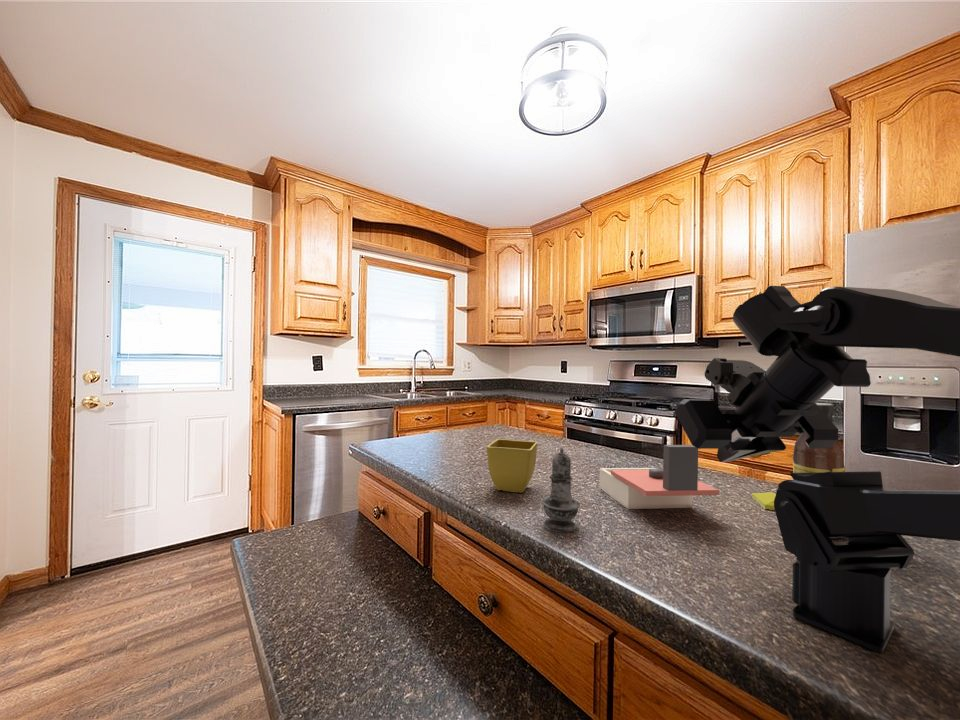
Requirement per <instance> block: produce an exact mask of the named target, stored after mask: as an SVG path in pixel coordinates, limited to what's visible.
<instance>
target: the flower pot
mask: <svg viewBox="0 0 960 720" xmlns="http://www.w3.org/2000/svg"><path fill="white" fill-rule="evenodd" d="M537 451H538V441H533V440H532V441H529V440H515V439H513V440H512V439H503V438H502V439H501V438H497V439H494V441H492V442H491V443H490V444H488V445H486V455H487V456H486V457H487V465H488V472H489V475H490V479H491V481H492V483H493V485H494V486H495V488H496V490H497V491H499V490H503V491H502V492H510V493H512V492H513V493H518V492H519V493H520V494H521V493H524V492H525V490H526V489H527V487H528V485H529V483H530V481H531V479H532V477H533V476H534V475H533V474H534V472H535V467H536V461H537V453H538V452H537Z"/></svg>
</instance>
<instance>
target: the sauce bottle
mask: <svg viewBox="0 0 960 720" xmlns="http://www.w3.org/2000/svg"><path fill="white" fill-rule="evenodd" d="M816 404H817V405H818V406H819V408H820V409H821V410H822V411H823V412H824V413H825V415H826V416H827V417H828V418H829V419H830V420H831V422H832V423H833V414H834V413H835V408H834V406H835V405H834V404H832V403H827V402H816ZM802 430H803V431H804V432H803V433H802V434H798V435H799V436H798V438H797V439H796V441H795V443H794V448H793V454H792V469H793V470H792V471H793V472H792V473H820V472H846V466H845V461H844V457H845V455H844V450H843V448H842V445H841V443H840V442H839V440H837V441H836V442H835V443H834V444H832V445H831V446H830V447H829V448H809V447H808V446H807V444H806V442H805V441H806V440H807V439H808V438H809V437H810V436H809V434H808V433H807V432H806V431H805V429H802ZM792 480H794V479H793V478H792Z"/></svg>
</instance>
